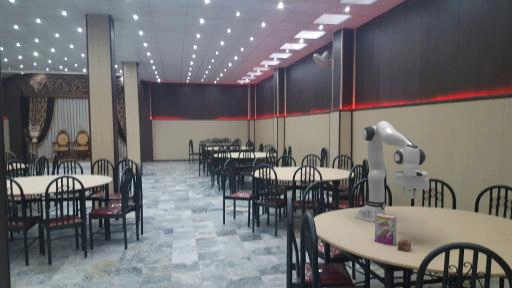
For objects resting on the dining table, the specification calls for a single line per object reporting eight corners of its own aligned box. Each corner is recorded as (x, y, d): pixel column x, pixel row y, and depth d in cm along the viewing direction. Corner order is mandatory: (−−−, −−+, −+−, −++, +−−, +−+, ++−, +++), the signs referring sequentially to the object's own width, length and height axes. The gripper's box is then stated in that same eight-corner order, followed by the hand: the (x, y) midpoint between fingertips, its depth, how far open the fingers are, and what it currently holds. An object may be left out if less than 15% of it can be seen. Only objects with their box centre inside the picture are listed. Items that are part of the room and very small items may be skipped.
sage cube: (404, 197, 207) (405, 190, 206) (407, 196, 210) (408, 189, 210) (412, 198, 204) (412, 191, 203) (415, 197, 207) (415, 190, 207)
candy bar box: (374, 241, 211) (375, 215, 211) (378, 239, 215) (378, 213, 214) (393, 245, 204) (393, 218, 203) (396, 243, 208) (396, 216, 207)
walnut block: (397, 250, 197) (397, 241, 197) (400, 246, 202) (400, 238, 202) (409, 252, 193) (409, 243, 193) (411, 248, 198) (411, 240, 198)
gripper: (391, 170, 211) (390, 193, 212) (427, 174, 197) (426, 198, 197) (395, 169, 215) (395, 191, 216) (430, 173, 201) (430, 196, 202)
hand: (410, 195), depth 207 cm, fingers closed on sage cube, 4 cm apart
